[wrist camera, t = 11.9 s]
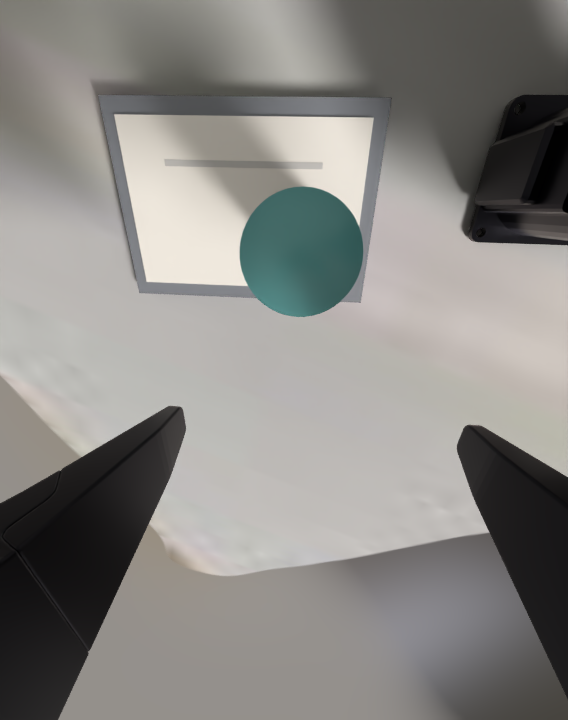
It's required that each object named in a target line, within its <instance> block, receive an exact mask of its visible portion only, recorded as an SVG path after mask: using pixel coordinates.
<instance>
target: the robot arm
mask: <svg viewBox="0 0 568 720" xmlns="http://www.w3.org/2000/svg"><path fill="white" fill-rule="evenodd" d="M517 104H518V105H520V107H521V108H520V112H519V114H518V115H516V114H515V112H514V108H515V106H516V105H517ZM475 202H476V204H477V205H476V208H475V212H474V215H473V219H472V222H471V225H470V229H469V232H468V237H469V239H470V240H471V241H475V242H489V243H520V244H550V245H568V95H521V96H519V97H517V98H515V99H513V100H512V101H510V102H509V104H508V105H507V106H506V108H505V110H504V114H503V117H502V120H501V124H500V127H499V131H498V134H497V137H496V141H495V143H494V144H493V145H492V146H491V147H490V149H489V152H488V156H487V159H486V163H485V166H484V170H483V173H482V176H481V180H480V183H479V187H478V190H477V194H476V197H475ZM480 228H481V229H482V233H481V235H480V236H478V237H477V236H476V232H477V231H478V230H479V229H480ZM185 431H186V425H185V419H184V413H183V409H182V408H181V407H178V406H168V407H166V408H165V409H163V410H161V411H159V412H158V413H156V414H154V415H153V416H151V417H149V418H148V419H146V420H144V421H142V422H141V423H139V424H137V425H136V426H134V427H132V428H131V429H129V430H127V431H125V432H124V433H122V434H120V435H119V436H117V437H115V438H114V439H112V440H110V441H108V442H107V443H105V444H103V445H102V446H100V447H98V448H96V449H95V450H93V451H91V452H90V453H88V454H86V455H85V456H83V457H81V458H79V459H78V460H76V461H74V462H73V463H71V464H69V465H68V466H66V467H64V468H63V469H62V470H61V471H57V472H56V473H54V474H52V475H50V476H49V477H48V478H46V479H44V480H42V481H40V482H38V483H37V484H35V485H33V486H31V487H30V488H28V489H26V490H24V491H23V492H21V493H19V494H17V495H15V496H13V497H11V498H10V499H8V500H6V501H4V502H2V503H0V720H58V718H59V716H60V714H61V712H62V710H63V707H64V706H65V704H66V701H67V699H68V697H69V695H70V693H71V691H72V688H73V686H74V684H75V682H76V680H77V678H78V675H79V673H80V671H81V669H82V667H83V665H84V663H85V660H86V658H87V656H88V651H89V650H90V649H91V647H92V644H93V643H94V640H95V638H96V636H97V634H98V632H99V630H100V628H101V625H102V623H103V621H104V619H105V617H106V615H107V612H108V610H109V608H110V606H111V604H112V602H113V600H114V597H115V595H116V593H117V591H118V589H119V587H120V584H121V582H122V580H123V577H124V576H125V573H126V571H127V569H128V567H129V565H130V563H131V560H132V558H133V556H134V554H135V552H136V550H137V548H138V546H139V543H140V541H141V539H142V537H143V535H144V533H145V531H146V528H147V526H148V524H149V522H150V520H151V518H152V515H153V513H154V511H155V509H156V507H157V505H158V502H159V500H160V498H161V496H162V494H163V492H164V490H165V487H166V485H167V483H168V481H169V478H170V476H171V474H172V471H173V468H174V465H175V462H176V459H177V456H178V453H179V450H180V447H181V444H182V441H183V438H184V435H185ZM457 452H458V455H459V458H460V461H461V464H462V467H463V469H464V472H465V475H466V478H467V481H468V484H469V487H470V490H471V492H472V495H473V497H474V500H475V502H476V504H477V507H478V509H479V511H480V513H481V515H482V517H483V520H484V522H485V524H486V526H487V528H488V530H489V532H490V534H491V537H492V539H493V540H494V543H495V545H496V547H497V549H498V552H499V554H500V555H501V558H502V560H503V562H504V564H505V566H506V568H507V571H508V573H509V575H510V577H511V579H512V581H513V583H514V586H515V588H516V589H517V592H518V594H519V596H520V598H521V601H522V603H523V605H524V607H525V609H526V611H527V613H528V616H529V618H530V620H531V622H532V624H533V626H534V628H535V630H536V633H537V635H538V637H539V639H540V641H541V643H542V645H543V648H544V650H545V652H546V654H547V656H548V658H549V660H550V663H551V665H552V667H553V669H554V671H555V673H556V675H557V677H558V680H559V682H560V684H561V686H562V688H563V690H564V692H565V695H566V697H567V699H568V477H566V476H565V475H563V474H561V473H560V472H558V471H556V470H555V469H553V468H551V467H550V466H548V465H546V464H545V463H543V462H541V461H540V460H538V459H536V458H535V457H533V456H531V455H530V454H528V453H526V452H525V451H523V450H521V449H519V448H518V447H516V446H514V445H513V444H511V443H509V442H508V441H506V440H504V439H503V438H501V437H499V436H498V435H496V434H494V433H493V432H491V431H489V430H488V429H486V428H484V427H482V426H479V425H466V426H465V427H464V429H463V431H462V434H461V436H460V439H459V441H458V444H457Z"/></svg>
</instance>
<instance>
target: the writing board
mask: <svg viewBox="0 0 568 720" xmlns="http://www.w3.org/2000/svg"><path fill="white" fill-rule="evenodd" d="M98 98H99V102H100V107H101V112H102V117H103V121H104V126H105V131H106V136H107V141H108V145H109V150H110V155H111V160H112V164H113V169H114V174H115V179H116V184H117V188H118V193H119V198H120V203H121V207H122V212H123V217H124V222H125V227H126V231H127V236H128V241H129V246H130V250H131V255H132V260H133V265H134V269H135V274H136V279H137V284H138V289H139V293H152V294H175V295H197V296H220V297H243V298H257V297H256V296H255V295H254V294H253V293H252V291H251V290H250V288H249V287H248V285H247V283H246V281H245V278H244V276H243V273H242V269H241V265H240V241H241V237H242V233H243V230H244V227H245V225H246V223H247V221H248V219H249V217H250V215H251V214H252V213H253V211H254V210H255V209H256V208H257V207H258V206H259V205H260V204H261V203H262V202H263V201H264V200H265V199H267V198H268V197H269V196H271V195H273V194H275V193H277V192H279V191H281V190H284V189H287V188H292V187H302V186H305V187H314V188H318V189H321V190H324V191H326V192H329V193H330V194H332V195H334V196H335V197H337V198H338V199H339V200H341V201H342V202H343V203H344V204H345V205H346V206H347V207H348V208H349V210H350V211H351V212H352V214H353V215H354V217H355V219H356V221H357V223H358V225H359V228H360V231H361V234H362V240H363V261H362V266H361V270H360V273H359V276H358V278H357V280H356V282H355V284H354V286H353V287H352V289H351V290H350V292H349V293H348V294H347V295H346V296H345V297H344V298H343V299H342V300H341V301H340V302H357V303H361V296H362V290H363V283H364V277H365V270H366V264H367V257H368V250H369V244H370V237H371V231H372V224H373V217H374V211H375V204H376V198H377V191H378V185H379V178H380V171H381V165H382V158H383V152H384V145H385V138H386V132H387V125H388V119H389V112H390V106H391V99H392V98H382V97H275V96H167V95H98Z"/></svg>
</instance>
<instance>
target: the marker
mask: <svg viewBox="0 0 568 720" xmlns="http://www.w3.org/2000/svg"><path fill="white" fill-rule="evenodd" d="M362 261H363V240H362V234H361V231H360V228H359V225H358V223H357V221H356V219H355V217H354V215H353V214H352V212H351V211H350V210H349V208H348V207H347V206H346V205H345V204H344V203H343V202H342V201H341V200H339V199H338V198H337V197H335V196H334V195H332V194H330V193H329V192H326V191H324V190H321V189H318V188H314V187H305V186H302V187H292V188H287V189H284V190H281V191H279V192H277V193H275V194H273V195H271V196H269V197H268V198H267V199H265V200H264V201H263V202H262V203H261V204H260V205H259V206H258V207H257V208H256V209H255V210H254V211H253V213H252V214H251V215H250V217H249V219H248V221H247V223H246V225H245V227H244V230H243V233H242V237H241V241H240V265H241V269H242V273H243V276H244V278H245V281H246V283H247V285H248V287H249V288H250V290H251V291H252V293H253V294H254V295H255V296H256V297H257V298H258V300H260V301H261V302H262V303H263V304H264V305H266V306H267V307H269V308H270V309H272V310H274V311H276V312H278V313H281V314H284V315H288V316H296V317H306V316H312V315H316V314H320V313H322V312H324V311H327V310H329V309H330V308H332V307H334V306H335V305H336V304H338V303H339V302H340V301H341V300H342V299H343V298H344V297H345V296H346V295H347V294H348V293H349V292H350V290H351V289H352V287H353V286H354V284H355V282H356V280H357V278H358V276H359V273H360V270H361V266H362Z"/></svg>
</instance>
